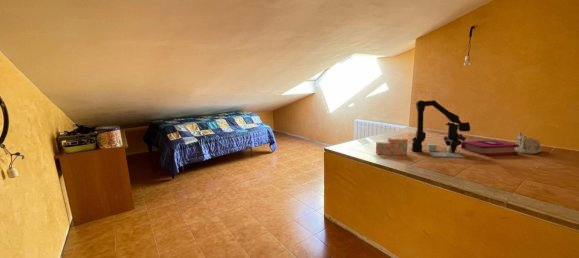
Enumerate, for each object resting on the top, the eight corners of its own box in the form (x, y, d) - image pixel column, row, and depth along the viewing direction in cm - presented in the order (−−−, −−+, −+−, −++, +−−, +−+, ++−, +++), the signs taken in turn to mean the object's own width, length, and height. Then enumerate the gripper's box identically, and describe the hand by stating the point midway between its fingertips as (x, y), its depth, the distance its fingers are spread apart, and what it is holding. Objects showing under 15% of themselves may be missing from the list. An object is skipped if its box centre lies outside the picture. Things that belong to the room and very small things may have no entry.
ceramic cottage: (521, 153, 179) (523, 133, 177) (510, 148, 194) (512, 130, 192) (549, 154, 174) (551, 134, 172) (536, 149, 189) (538, 130, 187)
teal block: (428, 151, 193) (429, 145, 192) (427, 149, 198) (427, 143, 197) (435, 151, 192) (436, 145, 191) (434, 149, 197) (434, 143, 196)
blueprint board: (432, 157, 175) (432, 155, 175) (427, 153, 187) (428, 152, 187) (464, 158, 170) (464, 157, 170) (457, 154, 181) (457, 153, 181)
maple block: (448, 153, 184) (449, 147, 184) (446, 152, 189) (446, 145, 188) (456, 153, 183) (456, 147, 182) (453, 152, 188) (454, 145, 187)
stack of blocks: (377, 155, 185) (378, 139, 184) (375, 153, 191) (376, 137, 190) (407, 155, 183) (407, 139, 181) (404, 153, 189) (404, 137, 188)
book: (460, 149, 197) (461, 140, 196) (493, 148, 198) (494, 139, 197) (482, 155, 176) (483, 145, 175) (519, 154, 178) (520, 144, 177)
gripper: (470, 133, 173) (468, 154, 175) (460, 129, 190) (458, 149, 192) (452, 133, 176) (451, 154, 178) (443, 129, 193) (442, 148, 195)
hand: (451, 151), depth 186 cm, fingers open, 8 cm apart
